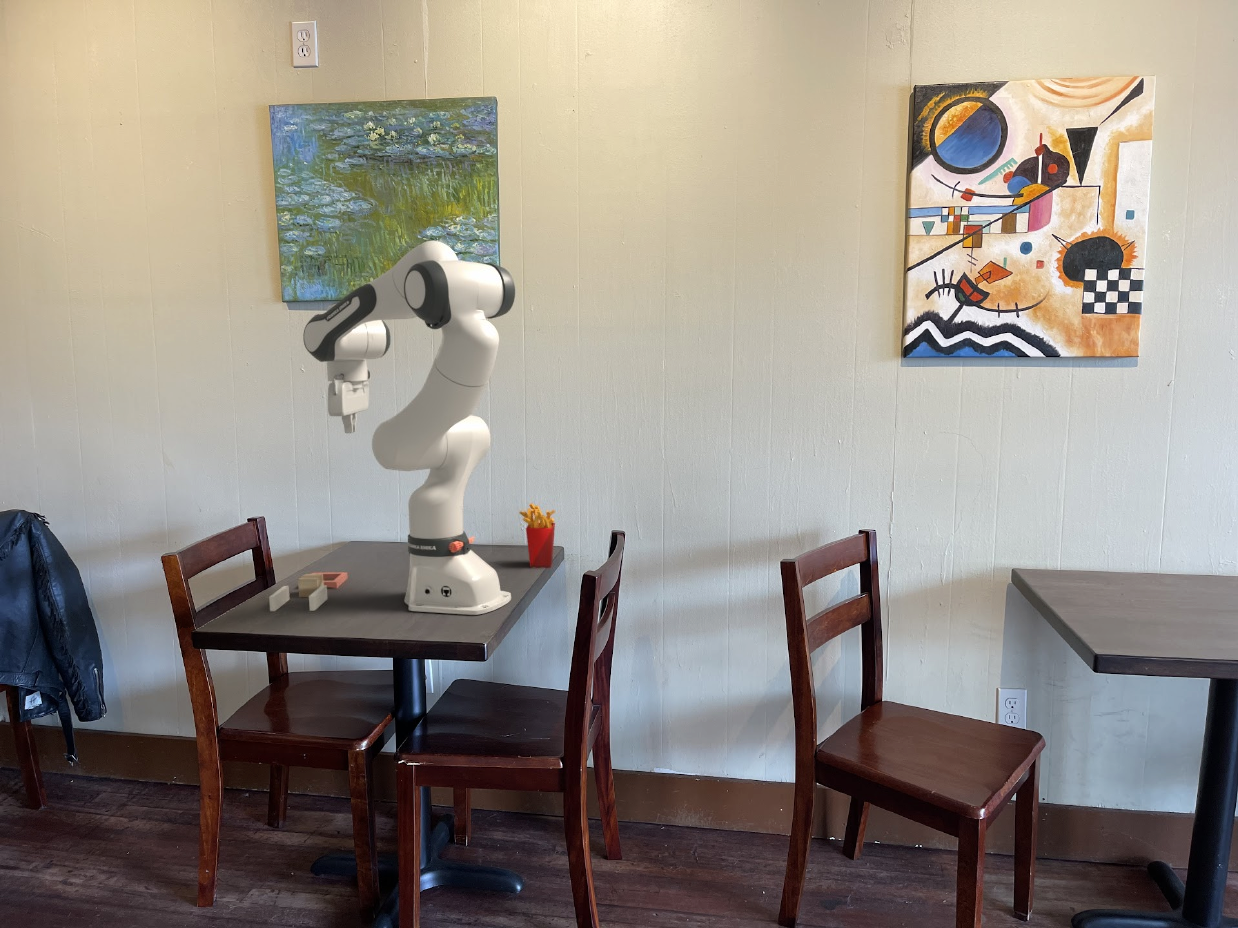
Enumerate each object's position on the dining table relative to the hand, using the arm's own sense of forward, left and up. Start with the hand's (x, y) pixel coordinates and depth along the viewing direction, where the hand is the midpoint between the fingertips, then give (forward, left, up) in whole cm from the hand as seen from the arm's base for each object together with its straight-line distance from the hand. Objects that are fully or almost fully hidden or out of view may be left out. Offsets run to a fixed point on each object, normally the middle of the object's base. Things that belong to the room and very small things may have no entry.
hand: (350, 432), depth 200 cm
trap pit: (-1, +12, -33) cm, 35 cm away
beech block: (-4, +19, -33) cm, 39 cm away
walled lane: (-7, +26, -33) cm, 43 cm away
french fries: (-38, -20, -33) cm, 54 cm away
